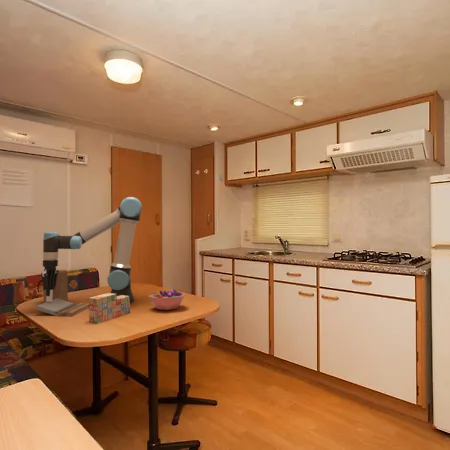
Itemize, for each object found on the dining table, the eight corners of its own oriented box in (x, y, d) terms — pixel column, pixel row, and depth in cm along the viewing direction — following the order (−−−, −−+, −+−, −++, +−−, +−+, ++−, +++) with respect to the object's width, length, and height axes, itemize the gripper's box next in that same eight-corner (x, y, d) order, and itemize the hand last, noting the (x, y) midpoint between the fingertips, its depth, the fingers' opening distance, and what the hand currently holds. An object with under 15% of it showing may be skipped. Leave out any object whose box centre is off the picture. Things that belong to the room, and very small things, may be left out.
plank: (74, 307, 192) (75, 303, 192) (56, 315, 174) (57, 312, 174) (56, 301, 193) (56, 297, 193) (35, 309, 175) (36, 305, 175)
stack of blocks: (122, 311, 181) (121, 289, 181) (130, 313, 178) (129, 290, 178) (89, 322, 163) (88, 297, 163) (97, 323, 160) (97, 298, 160)
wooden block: (57, 305, 198) (56, 272, 197) (43, 304, 200) (42, 272, 199) (68, 301, 207) (67, 269, 207) (54, 301, 209) (54, 269, 209)
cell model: (154, 305, 194) (153, 286, 194) (187, 305, 193) (187, 286, 192) (145, 313, 177) (145, 292, 177) (182, 313, 176) (181, 292, 176)
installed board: (91, 307, 192) (91, 303, 192) (72, 316, 172) (72, 312, 172) (78, 307, 193) (78, 303, 193) (57, 316, 173) (57, 312, 173)
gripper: (51, 257, 190) (50, 298, 190) (36, 260, 177) (35, 303, 177) (63, 258, 190) (62, 299, 190) (49, 260, 177) (48, 304, 177)
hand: (49, 301), depth 184 cm, fingers closed
